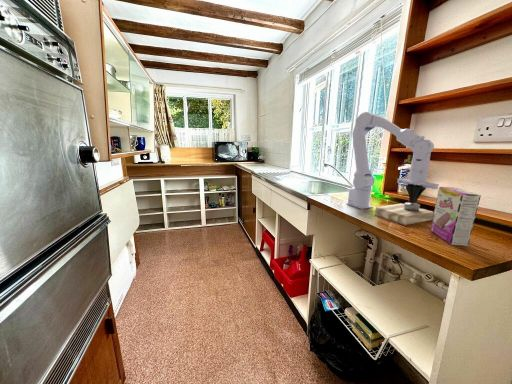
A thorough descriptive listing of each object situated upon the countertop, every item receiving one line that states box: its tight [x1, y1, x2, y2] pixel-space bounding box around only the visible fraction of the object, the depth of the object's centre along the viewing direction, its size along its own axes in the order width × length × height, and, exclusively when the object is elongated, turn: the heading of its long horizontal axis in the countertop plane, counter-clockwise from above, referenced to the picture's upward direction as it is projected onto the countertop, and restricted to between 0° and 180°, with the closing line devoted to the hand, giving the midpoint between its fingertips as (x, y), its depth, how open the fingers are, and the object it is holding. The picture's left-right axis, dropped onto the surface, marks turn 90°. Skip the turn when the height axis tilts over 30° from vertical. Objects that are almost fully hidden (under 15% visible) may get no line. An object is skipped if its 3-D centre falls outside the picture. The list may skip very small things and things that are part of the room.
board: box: [374, 203, 434, 226], centre depth 90 cm, size 13×17×4 cm
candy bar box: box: [429, 186, 482, 247], centre depth 68 cm, size 11×5×16 cm, turn 168°
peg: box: [403, 201, 421, 212], centre depth 89 cm, size 5×5×6 cm
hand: (412, 202), depth 88 cm, fingers closed
